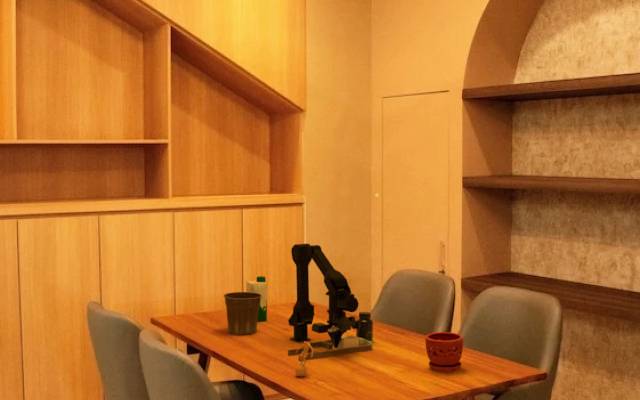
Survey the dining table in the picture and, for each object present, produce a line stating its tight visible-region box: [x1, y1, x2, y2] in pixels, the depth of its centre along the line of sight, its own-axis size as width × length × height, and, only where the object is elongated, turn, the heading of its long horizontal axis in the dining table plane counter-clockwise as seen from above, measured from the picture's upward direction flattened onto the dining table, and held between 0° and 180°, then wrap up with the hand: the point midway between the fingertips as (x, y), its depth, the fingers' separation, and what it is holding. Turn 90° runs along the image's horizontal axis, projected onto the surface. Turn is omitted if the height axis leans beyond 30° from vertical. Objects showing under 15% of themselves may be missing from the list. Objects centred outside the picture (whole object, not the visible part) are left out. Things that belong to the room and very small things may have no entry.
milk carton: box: [245, 275, 268, 323], centre depth 355 cm, size 9×9×20 cm
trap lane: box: [287, 338, 374, 362], centre depth 301 cm, size 15×33×3 cm, turn 120°
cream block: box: [336, 334, 360, 350], centre depth 302 cm, size 5×7×5 cm
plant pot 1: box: [223, 291, 262, 336], centre depth 332 cm, size 16×16×16 cm
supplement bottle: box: [355, 311, 374, 342], centre depth 315 cm, size 7×7×12 cm
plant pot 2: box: [425, 331, 464, 373], centre depth 276 cm, size 13×13×12 cm
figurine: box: [295, 341, 314, 378], centre depth 267 cm, size 8×6×12 cm
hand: (335, 348), depth 300 cm, fingers closed
